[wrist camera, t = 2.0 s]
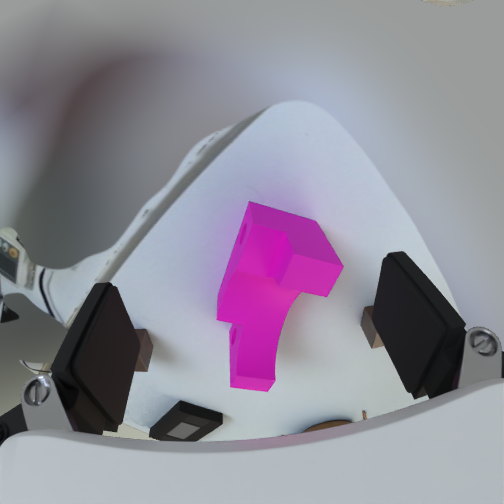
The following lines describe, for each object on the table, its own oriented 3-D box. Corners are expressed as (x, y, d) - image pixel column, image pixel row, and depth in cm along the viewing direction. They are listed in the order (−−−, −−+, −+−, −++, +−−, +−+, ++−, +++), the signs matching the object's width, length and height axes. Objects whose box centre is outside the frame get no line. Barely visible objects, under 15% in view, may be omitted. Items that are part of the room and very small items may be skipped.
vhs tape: (223, 413, 41) (223, 423, 39) (186, 439, 46) (185, 447, 45) (180, 399, 39) (179, 410, 37) (150, 428, 44) (148, 437, 42)
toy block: (249, 201, 24) (256, 243, 18) (316, 221, 26) (343, 266, 19) (207, 327, 31) (204, 383, 25) (261, 337, 32) (267, 391, 26)
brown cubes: (123, 329, 31) (114, 354, 27) (386, 302, 31) (400, 325, 28) (131, 346, 32) (124, 371, 29) (381, 321, 33) (394, 343, 29)
